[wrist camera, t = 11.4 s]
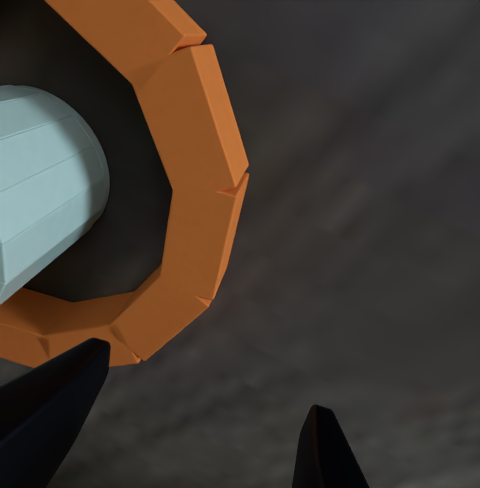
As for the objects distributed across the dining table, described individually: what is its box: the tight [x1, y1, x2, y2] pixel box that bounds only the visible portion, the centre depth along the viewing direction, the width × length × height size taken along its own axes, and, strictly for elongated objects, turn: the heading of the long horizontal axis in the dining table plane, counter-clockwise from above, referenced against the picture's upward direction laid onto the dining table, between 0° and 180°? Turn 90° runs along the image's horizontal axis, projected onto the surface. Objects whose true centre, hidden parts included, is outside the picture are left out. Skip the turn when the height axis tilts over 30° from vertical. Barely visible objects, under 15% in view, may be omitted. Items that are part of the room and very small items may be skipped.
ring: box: [0, 0, 249, 368], centre depth 15 cm, size 16×16×2 cm
